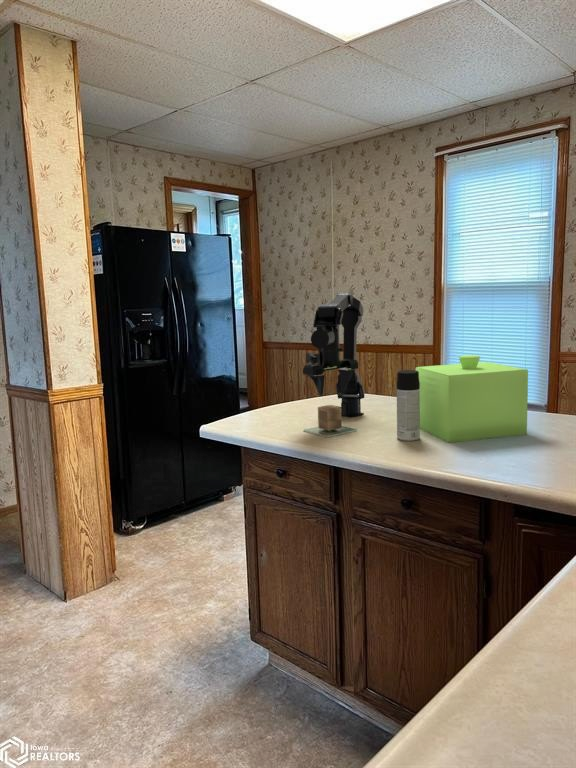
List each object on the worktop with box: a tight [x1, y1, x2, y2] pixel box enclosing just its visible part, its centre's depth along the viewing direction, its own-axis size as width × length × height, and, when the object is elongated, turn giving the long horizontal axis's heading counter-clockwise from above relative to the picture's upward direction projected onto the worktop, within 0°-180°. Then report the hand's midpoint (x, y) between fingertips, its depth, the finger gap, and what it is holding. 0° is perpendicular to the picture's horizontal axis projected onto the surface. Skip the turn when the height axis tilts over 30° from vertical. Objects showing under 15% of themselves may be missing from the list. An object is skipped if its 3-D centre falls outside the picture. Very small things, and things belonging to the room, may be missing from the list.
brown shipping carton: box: [317, 404, 343, 431], centre depth 183 cm, size 5×5×7 cm
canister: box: [415, 354, 529, 444], centre depth 175 cm, size 25×21×23 cm
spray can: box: [396, 369, 421, 442], centre depth 169 cm, size 7×7×20 cm
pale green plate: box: [303, 425, 358, 438], centre depth 183 cm, size 12×12×7 cm
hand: (332, 393), depth 184 cm, fingers open, 9 cm apart
